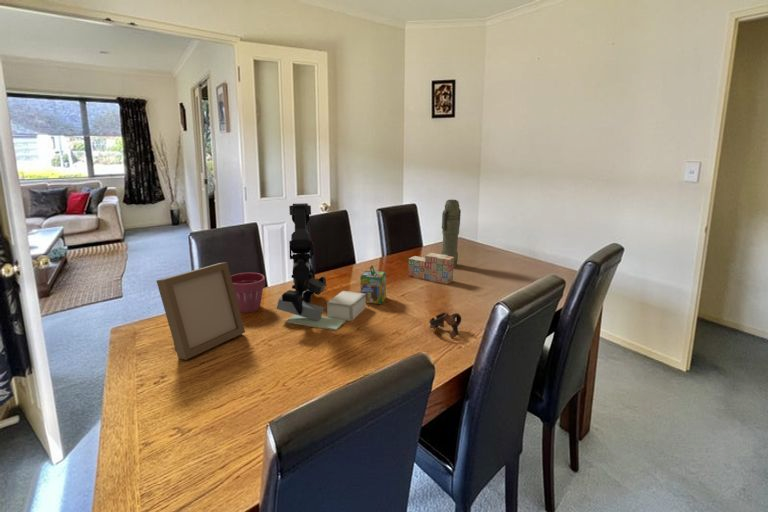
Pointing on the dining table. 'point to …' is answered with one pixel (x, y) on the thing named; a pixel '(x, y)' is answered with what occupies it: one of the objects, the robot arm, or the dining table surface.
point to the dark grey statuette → (451, 229)
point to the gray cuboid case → (346, 305)
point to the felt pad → (317, 322)
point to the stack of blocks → (432, 267)
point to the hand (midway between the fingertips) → (303, 311)
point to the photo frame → (201, 309)
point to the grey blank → (307, 309)
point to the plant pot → (248, 290)
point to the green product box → (374, 286)
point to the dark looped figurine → (450, 321)
